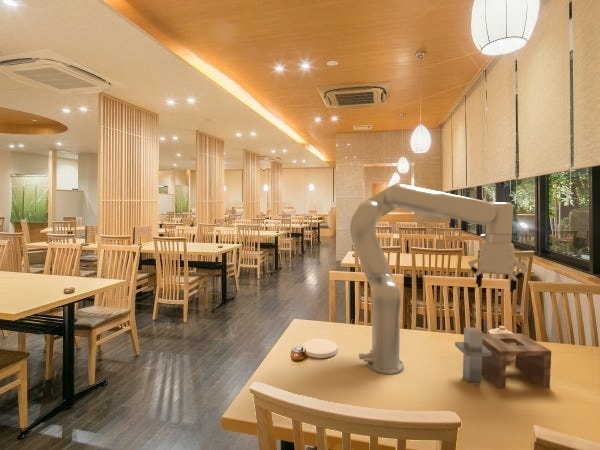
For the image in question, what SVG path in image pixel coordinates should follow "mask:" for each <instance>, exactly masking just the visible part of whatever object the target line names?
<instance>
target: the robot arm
mask: <svg viewBox="0 0 600 450" xmlns="http://www.w3.org/2000/svg"><path fill="white" fill-rule="evenodd" d="M396 209H398V210H399V209H400V210H405V211H409V212H414V213H418V214H422V215H427V216H432V217H439V218H448V219H454V220H459V221H463V222H464V221H465V222H467V223H469V224H477V225H481V226H482V225H485V233H483V234H480V239H482V240H483V239H484V241H482V243H481V248H480V253H479V257H478V258H476V259H472V260H470V261H468V265H469V267H470V270H471V271H472V272H473V273H474V275H475V277H476V279H475V284H476V285H477V288H481V287H482V285H483V275H482V273H483V272H484V273H493V274H499V275H500V274H501V275H508V276H509V277H510V278H511V279H510V285H509V286H510V289H509V291H510V293H514V291H516V290H517V281H518V280H519V279H521V278H522V277H523V276H524V275H525V274H526V272H527V271H528V267H527V266H525V265H523V264H522V263H520V262H518V261H516V258H515V256H516V255H515V253H516V252H515V247H514V246H515V245H514V243H512V235H513V234H512V232H513V219H514V218H513V217H514V205H513V204H512V203H511V202H507V201H506V202H505V201H503V202H500V201H499V202H498V201H496V202H494V201H493V202H488V201H486V200H480V199H477V198H472V197H471V198H470V197H466V196H463V195H462V196H461V195H456V194H452V193H446V192H443V191H437V190H433V189H428V188H423V187H420V186H418V187H417V186H414V185H409V184H405V183H404V184H403V183H394V184H392V185H389V186H388V187H387V188H385V189H384V190H381V191H380V192H378V193H377V194H374V195H373V196H371V197H369V198H367V199H366V200H365V199H364V201H362V202H361V203H360V204H359V205H358V206H357V208H356V210H355V212H354V213H353V215H352V218H351V219H350V222H349V223H350V225H349V233H350V237H351V241H352V243H353V247H354V248H355V252H356V254H357V256H358V259H359V263H360V267H361V268H362V271H363V273H364V276H365V278H366V280H367V283H368V285H369V288H370V290H371V293H372V312H371V313H372V316H371V318H372V319H371V320H372V321H371V322H372V323H371V324H372V325H371V327H372V330H371V332H372V333H371V338H372V340H371V349H370V350H369V352H367V353H358V359H359V360H363V362H365V363H367V366H368V367H369V368H370V369H371V370H372V371H374V372H377V373H380V374H384V375H385V374H386V375H394V374H398V373H401V372H403V370H404V368H405V367H404V366H405V364H404V362H403V361H402V360H401V359H400V347H401V346H400V343H401V342H400V341H401V340H400V338H401V337H400V336H401V335H400V334H401V333H400V332H401V326H400V325H401V308H402V307H401V305H402V292H401V288H400V286H399V284H398V283H397V281H396V280H395V278H394V275H393V274H392V271H391V269H390V266H389V264H388V263H389V261H388V258H387V256H386V255H385V253H384V252H383V249H382V246H381V245H380V242H379V239H378V236H377V234H376V225H377V224H378V222H379V221H380V220H381V218H383V217H384V216H386V215H388V214H389V213H392V212H394V211H395V210H396ZM477 263H478V268H477V267H476V266H475V264H477ZM515 268H518V269H519V270H520V271H519V273H517V274H516V273H515Z"/></svg>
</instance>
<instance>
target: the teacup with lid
mask: <svg viewBox="0 0 600 450" xmlns="http://www.w3.org/2000/svg"><path fill="white" fill-rule="evenodd" d="M487 334H515V333H514V332H512V331H510V330H508V329H506V327H505V326H503V325H499V326H498V327H496V328H491V329H489V330H488V332H487ZM506 344H507V345H516V343H506ZM514 360H515V356H506V363H507V362H513V361H514Z"/></svg>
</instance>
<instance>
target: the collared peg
mask: <svg viewBox="0 0 600 450" xmlns="http://www.w3.org/2000/svg"><path fill="white" fill-rule="evenodd" d="M483 334H484V332H483V331H481V329H479V328H478V327H463V341H455V342H454V346H455V347H456V348H457V349H458V350H459V351H461V353H463V356H462V357H463V359H462V361H463V362H462V378H463V379H464V380H465V382H467V383H468V384H482V374H483V373H482V356H492V352H491V351H489V350H488V349H487V348H486V347H484V346H483V345H482V342H483Z"/></svg>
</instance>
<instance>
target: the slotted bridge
mask: <svg viewBox="0 0 600 450" xmlns="http://www.w3.org/2000/svg"><path fill="white" fill-rule="evenodd" d="M506 343H515V345H507V344H506ZM482 345H483V346H484V347H486V348H487V349H488V350H489V351H491V352H492V356H482V373H481V374H483V375H484V376H485V377H486V378H487V379H488V380H489V381H490V382H492V383H493V384H494V385H495V386H496V387H497V388H498V389H506V381H507V380H506V379H507V377H506V376H507V362H506V356H515V359H514V360H515V361H514V367H515V368H516V369H518V370H519V372H521V373H523V374H525V376H526V377H528V378H530V379H531V380H532V381H533V382H535V383H536V384H537V385H538V386H540V387H541V388H543V389H550V388H551V367H552V365H551V364H552V350H550V349H549V348H547V347H545V346H543V345H542V344H540V343H539V342H537V341H535V340H533V339H532V338H530V337H528V336H527V335H525V334H523V333H514V334H488V333H483V342H482Z"/></svg>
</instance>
